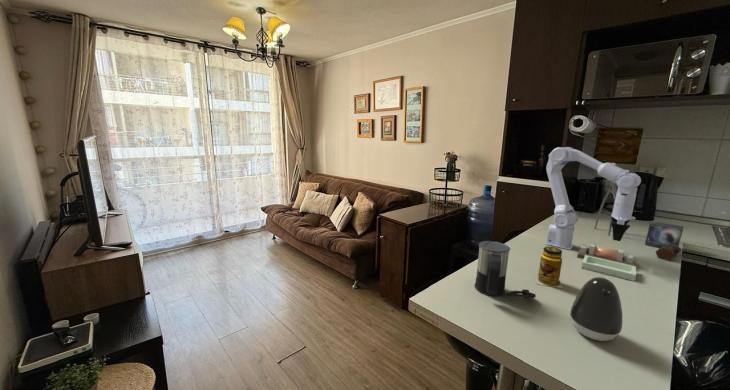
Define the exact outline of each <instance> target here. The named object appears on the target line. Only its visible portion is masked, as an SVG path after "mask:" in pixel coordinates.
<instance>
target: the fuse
mask: <svg viewBox="0 0 730 390" xmlns="http://www.w3.org/2000/svg"><path fill="white" fill-rule="evenodd" d="M596 244H597V243H594V242H590V245H589V248H590V249H589V253H588V254H589V255H593V256H597V257H602V258H606V259H611V260H615V261H620V262H623V261H622V258H623V256H624V252H625V249H622V248H618V250H616V249H613V248H608V247H607V248H606V247H602V246H598V245H596Z"/></svg>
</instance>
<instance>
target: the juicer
mask: <svg viewBox="0 0 730 390" xmlns="http://www.w3.org/2000/svg"><path fill="white" fill-rule="evenodd" d="M610 186H611V188H610V187H609V188H608V190H607V191H606V194H605V195H604V198H603V199H602V202H601V205H600V206H599V207H600V208H599V210H598V214H597V217H596V220H595V224H594V230H597V226H598V222H599V219H600V216H601V213H602V212H603V208H604V205H605V203H606V201H607V199H608V197H609V196H610V193H611V194H612V197H613V205H612V206H613V207H612V211H611V214H612V213H613V208H614V203H615V198H616V194H617V191H618V185H617V183H614V182H612V181H611V185H610ZM611 217H612V216H611ZM611 217H610V221H609V225H608V232H607V233H608V234H607V236H609V237H610V235H611V231H612V225H611V221H612V218H611Z"/></svg>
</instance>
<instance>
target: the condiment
mask: <svg viewBox="0 0 730 390" xmlns="http://www.w3.org/2000/svg"><path fill="white" fill-rule="evenodd" d="M562 254H563V250H562V248H561V249H560V247H556V246H550V245H548V246H544V247H543V251H542V254H541V255H540V262H539V269H538V273H535V272H534V273H533V274H534V277H535V280H536V283H537V285H541V286H545V287H551V288H559V289H564V286H563V285H562V283H561V281H560V276H561V270H562V265H563V264H562V263H563V258H562Z"/></svg>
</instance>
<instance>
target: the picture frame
mask: <svg viewBox="0 0 730 390" xmlns="http://www.w3.org/2000/svg"><path fill="white" fill-rule="evenodd" d="M683 231H684V226H683V225H676V224H673V223H672V224H670V223H665V222H660V221H655V220H652V221H650V223H649V226H648V230H647V235H646V237H645V243H644V245H645V246H648V247H653V248H658V249H660V248H661V247H666V246H667V245H669V244H672V245H677V246H678V247H679V245H680V242H681V240H682V239H681V238H682V235H683Z"/></svg>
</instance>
